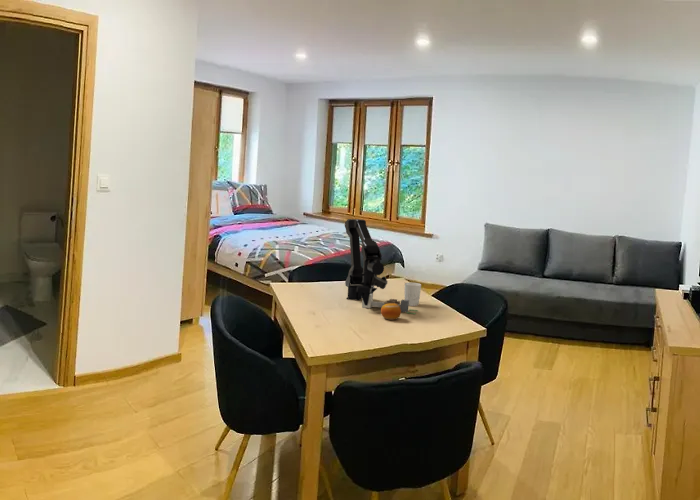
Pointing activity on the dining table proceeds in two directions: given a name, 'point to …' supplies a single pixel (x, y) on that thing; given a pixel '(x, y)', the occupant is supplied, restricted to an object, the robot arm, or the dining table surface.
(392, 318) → the fruit
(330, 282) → the dining table surface
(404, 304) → the telltale
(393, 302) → the housing
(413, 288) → the white cup
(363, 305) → the grey bar
